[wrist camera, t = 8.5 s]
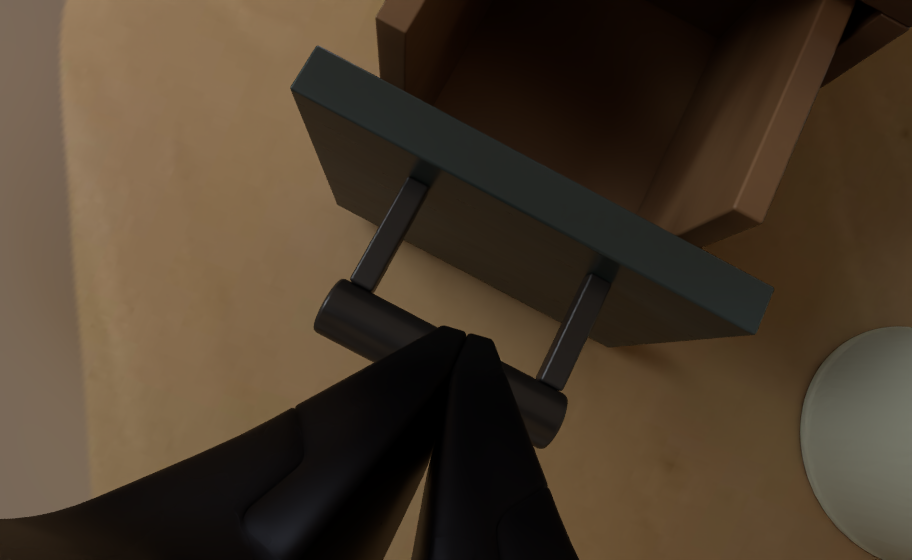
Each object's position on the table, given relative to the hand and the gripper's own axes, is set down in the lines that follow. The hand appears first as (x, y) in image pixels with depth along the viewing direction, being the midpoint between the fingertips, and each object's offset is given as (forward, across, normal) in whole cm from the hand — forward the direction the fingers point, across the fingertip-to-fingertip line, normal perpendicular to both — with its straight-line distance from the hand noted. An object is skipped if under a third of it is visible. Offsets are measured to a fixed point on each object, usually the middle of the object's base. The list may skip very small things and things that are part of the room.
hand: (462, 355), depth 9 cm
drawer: (+14, 0, +1) cm, 14 cm away
